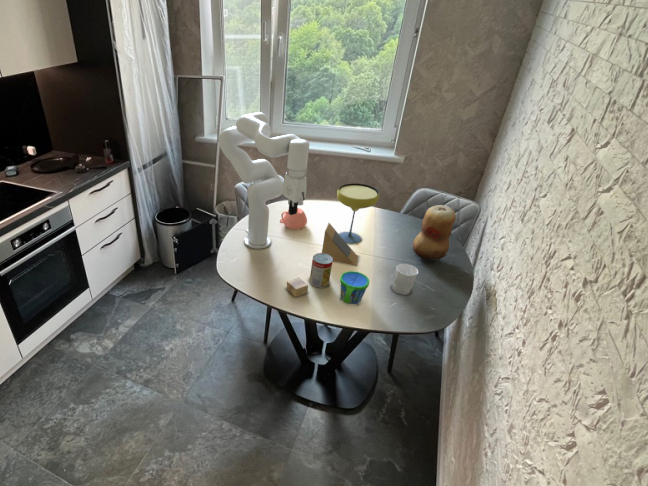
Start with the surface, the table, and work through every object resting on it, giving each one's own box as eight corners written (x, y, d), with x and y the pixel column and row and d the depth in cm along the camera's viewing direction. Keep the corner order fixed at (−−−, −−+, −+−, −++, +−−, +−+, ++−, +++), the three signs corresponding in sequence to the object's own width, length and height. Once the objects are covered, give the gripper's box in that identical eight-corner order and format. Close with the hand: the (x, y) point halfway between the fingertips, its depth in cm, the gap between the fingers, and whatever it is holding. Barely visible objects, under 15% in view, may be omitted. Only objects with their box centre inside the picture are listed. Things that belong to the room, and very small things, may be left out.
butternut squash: (405, 259, 179) (419, 208, 165) (415, 246, 187) (430, 197, 173) (438, 270, 171) (457, 218, 157) (448, 256, 179) (466, 206, 165)
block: (286, 289, 165) (287, 281, 163) (298, 284, 167) (299, 277, 165) (295, 297, 161) (296, 289, 158) (307, 292, 163) (308, 284, 160)
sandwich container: (355, 266, 176) (362, 236, 168) (320, 259, 182) (324, 230, 174) (358, 256, 183) (364, 227, 174) (324, 249, 189) (328, 221, 180)
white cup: (402, 298, 157) (409, 277, 151) (386, 287, 163) (391, 267, 157) (416, 291, 160) (423, 271, 154) (399, 281, 166) (405, 261, 160)
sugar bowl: (308, 231, 204) (311, 213, 198) (281, 232, 204) (282, 214, 198) (303, 219, 214) (305, 202, 208) (277, 220, 214) (278, 203, 209)
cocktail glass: (371, 233, 199) (382, 186, 185) (365, 251, 186) (377, 202, 172) (334, 226, 206) (341, 181, 192) (326, 243, 193) (334, 195, 179)
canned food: (331, 279, 169) (335, 256, 162) (325, 289, 164) (329, 265, 157) (313, 274, 173) (316, 251, 166) (306, 284, 167) (310, 260, 161)
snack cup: (355, 315, 150) (360, 294, 144) (329, 304, 156) (333, 283, 150) (371, 294, 160) (376, 274, 154) (345, 285, 166) (349, 264, 160)
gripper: (277, 167, 161) (274, 208, 171) (300, 180, 150) (296, 223, 160) (292, 164, 164) (289, 204, 174) (316, 176, 152) (311, 218, 162)
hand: (292, 213), depth 167 cm, fingers closed
